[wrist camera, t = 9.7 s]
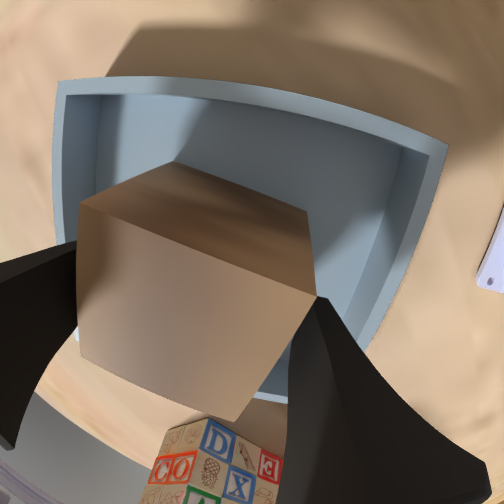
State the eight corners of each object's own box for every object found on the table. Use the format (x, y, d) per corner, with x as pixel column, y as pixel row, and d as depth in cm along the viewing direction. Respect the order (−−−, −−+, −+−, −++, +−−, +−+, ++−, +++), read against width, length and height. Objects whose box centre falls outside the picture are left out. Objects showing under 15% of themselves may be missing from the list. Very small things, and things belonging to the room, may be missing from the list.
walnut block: (307, 211, 11) (316, 296, 6) (256, 318, 14) (234, 422, 9) (172, 160, 11) (80, 202, 6) (146, 274, 14) (80, 356, 8)
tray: (414, 137, 10) (448, 145, 7) (325, 368, 16) (328, 409, 13) (100, 83, 10) (58, 81, 8) (100, 310, 16) (75, 340, 14)
